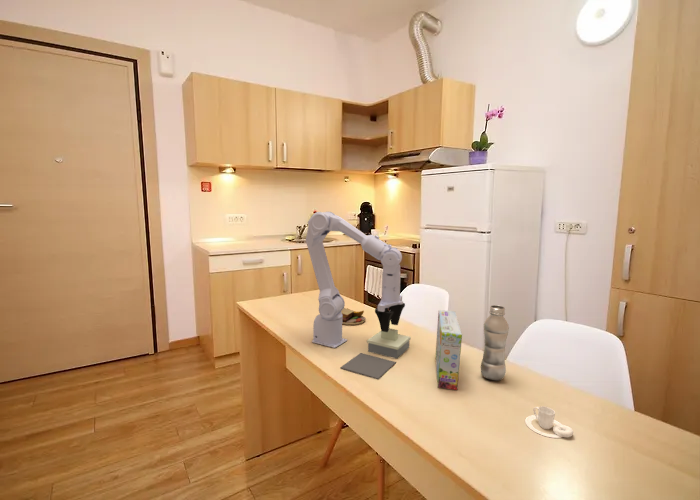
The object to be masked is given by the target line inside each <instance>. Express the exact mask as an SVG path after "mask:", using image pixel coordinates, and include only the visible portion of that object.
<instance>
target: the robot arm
mask: <svg viewBox="0 0 700 500" xmlns="http://www.w3.org/2000/svg"><path fill="white" fill-rule="evenodd" d="M307 225H308V227H307V232H306V236H305V243H306V247H307V250H308V254H309V257H310V261H311V264H312V269H313V271H314V275H315V278H316V283H317V286H318V289H319V293H318V299H317V300H318V304H319V305H318V312H319V313H318V315H316V316H315V317H314V320H313V324H312V325H313V328H312V329H313V330H312V332H313V333H312V334H313V335H312V336H313V339H312V340H311V342H312V343H314V344H318V345H321V346H325V347H329V348H333V349H336V348H338V347H339V346H341V345H343V344H345V342H347V341H348V339H347V338H344V337H343V325H342V319H343V315H342V313H341V311H342V310H343V308H345V300H344V297H342V295H341V293H340V291H339V289H338V288H337V287H336V286H335V282H334V279H333V275H332V271H331V268H330V264H329V261H328V257H327V253H326V249H325V246H324V240H325V239H326V237H327V236H328V235H329V234H330V232H341V233H342V234H344V235H346V236H347V237H349V238H351V239H352V240H354V241H355V242H356V243H359V244H360V246H361V249H362V251H364V252H365V253H367V254H368V255H370V256H371V257H374V259H376V260H378V261H380V262H381V265H382V273H381V275H382V277H381V279H382V280H381V299H380V301H379V303H378V304H377V308H374V313H375V314H376V316H377V319H378V321H379V322H378V323H379V327H380V331H383V332H388V331H389V328H390V324H391V325H392V326H393V325H394V326H398V325H399V322H400V318H401V315H402V312H403V310H404V309H405V306H406V303H404V301H403V295H401V273H402V272H401V264H400V263H401V262H402V260H403V254H402V252H401V251H400V250H399V249H398V248H397V247H392V244H388V243H386V242H385V241H383V240H381V239H380V236H379V235H377V234H376V235H374V234H368V235H366V234H365V233H364V232H362V230H360V229H358V228H357V227H355V226H354V225H353V224H351V223H350V222H348V221H347V220H346V219H344V218H343V217H341V216H339V215H337V214H336V213H334V212H332V211H323V212H322V211H317V212H315V213H313V214H312V215H311V216H310V218H309V219H308V221H307Z"/></svg>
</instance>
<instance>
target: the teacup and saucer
mask: <svg viewBox="0 0 700 500" xmlns="http://www.w3.org/2000/svg"><path fill="white" fill-rule="evenodd" d="M536 409H537V412H536ZM555 415H556V411H555V410H554V409H553V408H551V407H548V406H534V407H533V414H531V415H528V416H527V417H526V418H525V420H524V423H525V425H526V427H528V429H530V430H531V431H533V432H534V433H536V434H538V435H541V436H543V437H547V438H553V439H561V438H570V437H572V436H573V435H574V430H573V428H572V427H570V426H568V425H565V424H562V422H559V421H558V420H556V419H555ZM534 420H537V421H538V425H539V427H540V428H542V429H544V430H551V429H552V430H553V433H554V434H551V433H546V432H543V431H540V430H539V429H537V428H536V427H534V425H533V424H532V422H533V421H534ZM554 424H555V425H554Z"/></svg>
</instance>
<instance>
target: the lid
mask: <svg viewBox="0 0 700 500" xmlns="http://www.w3.org/2000/svg"><path fill="white" fill-rule="evenodd" d="M411 337H412V336H411V335H410V336H409V335H404V334H399V330H398V329H395V328H390V327H389V331H388V332H383V331H381V330H380V331H379V332H377V333H376V334H373V336H371V337H370V338H368V339H367V340H366V343H367V344H368V343H371V344H375V345H379V346H383V347H388V348H392V349H396V350H398V349H400V348H401V347H402V346H403V345H404V344H405V343H407V342H408V341H409V342H410V341H411Z"/></svg>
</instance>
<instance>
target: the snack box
mask: <svg viewBox="0 0 700 500" xmlns="http://www.w3.org/2000/svg"><path fill="white" fill-rule="evenodd" d="M437 315H438V316H437V328H436V343H435V366H436V381H437V382H436V383H437V388H439V389H447V390H452V391H458V384H459V374H460V364H461V363H460V362H461V351H462V341H463V339H462V338H463V334H462V329H461V326H460V324H459V319H458V317H457V313H456V311H454V310H441V309H439V310H438V314H437Z"/></svg>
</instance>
